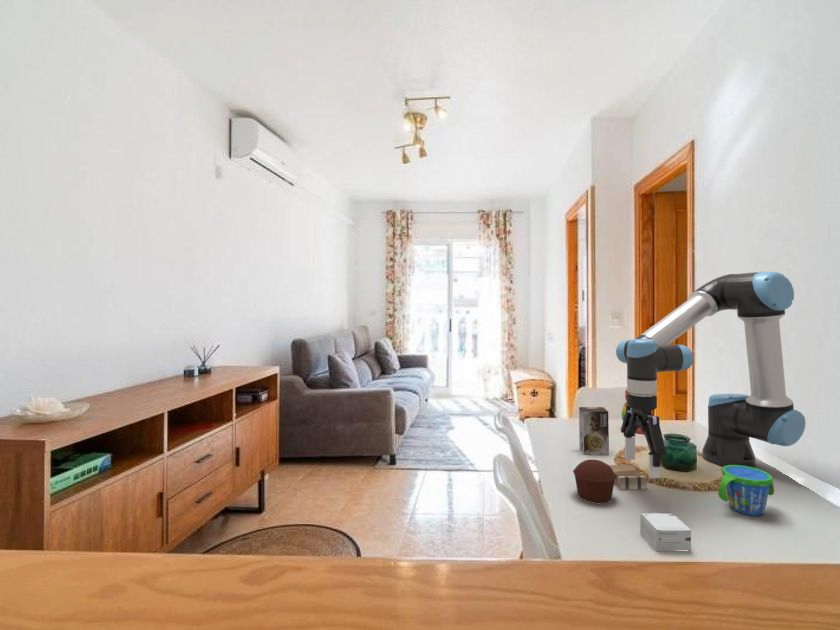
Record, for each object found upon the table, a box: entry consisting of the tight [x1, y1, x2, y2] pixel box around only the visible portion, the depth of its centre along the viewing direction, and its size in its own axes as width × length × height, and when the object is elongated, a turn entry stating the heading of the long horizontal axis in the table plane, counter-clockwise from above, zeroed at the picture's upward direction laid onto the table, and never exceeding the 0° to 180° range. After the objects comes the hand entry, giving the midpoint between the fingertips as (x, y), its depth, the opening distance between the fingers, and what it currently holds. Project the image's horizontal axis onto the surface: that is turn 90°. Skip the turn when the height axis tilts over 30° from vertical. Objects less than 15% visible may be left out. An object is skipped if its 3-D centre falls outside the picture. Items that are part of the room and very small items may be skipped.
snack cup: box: [717, 465, 775, 517], centre depth 113 cm, size 16×10×10 cm
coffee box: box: [578, 406, 610, 455], centre depth 159 cm, size 9×6×16 cm
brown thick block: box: [608, 464, 648, 490], centre depth 132 cm, size 4×8×10 cm
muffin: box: [572, 459, 617, 504], centre depth 122 cm, size 12×11×10 cm
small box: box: [639, 512, 692, 552], centre depth 99 cm, size 8×8×5 cm
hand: (641, 468), depth 122 cm, fingers open, 13 cm apart
